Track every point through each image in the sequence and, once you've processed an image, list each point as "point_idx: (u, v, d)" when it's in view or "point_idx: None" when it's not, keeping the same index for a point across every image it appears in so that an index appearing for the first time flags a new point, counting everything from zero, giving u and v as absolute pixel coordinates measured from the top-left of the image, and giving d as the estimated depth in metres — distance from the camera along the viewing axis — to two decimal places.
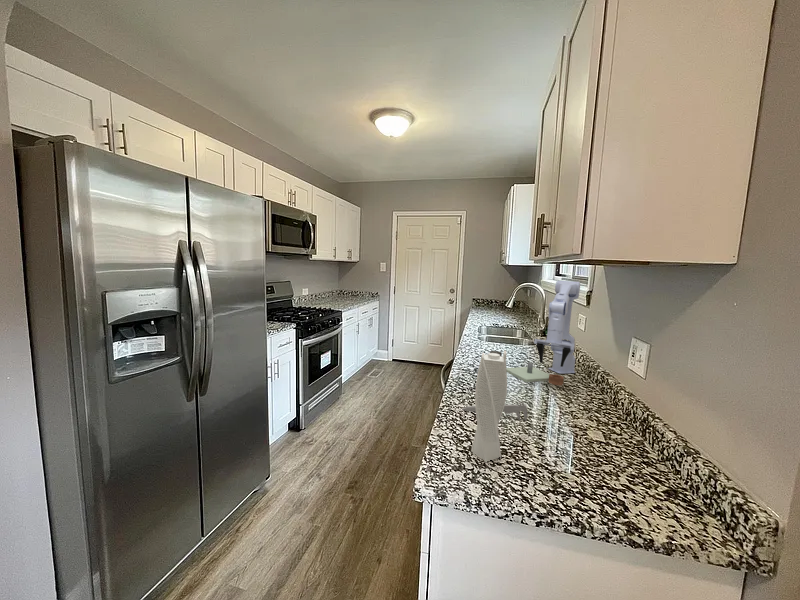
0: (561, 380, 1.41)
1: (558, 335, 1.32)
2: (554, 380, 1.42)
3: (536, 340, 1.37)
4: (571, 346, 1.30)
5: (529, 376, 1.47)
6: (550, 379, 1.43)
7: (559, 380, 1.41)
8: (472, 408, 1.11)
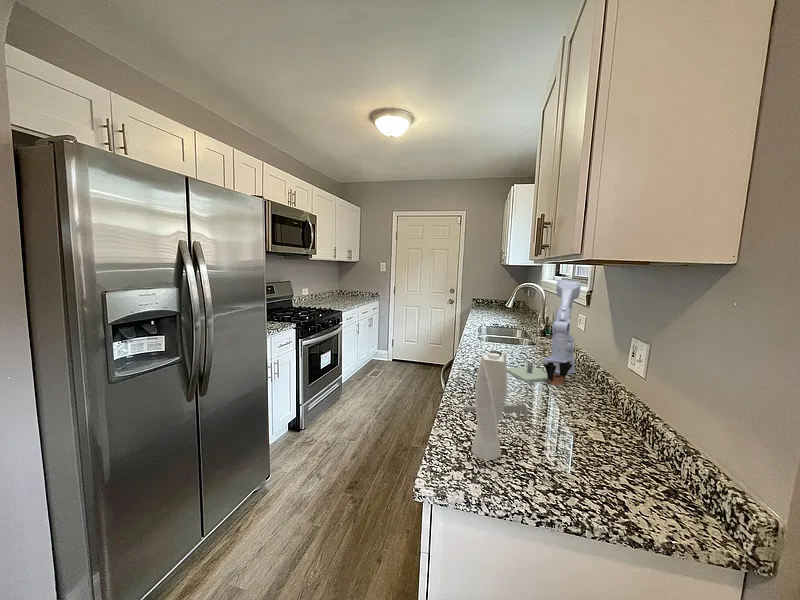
0: (561, 380, 1.41)
1: (566, 353, 1.41)
2: (554, 380, 1.42)
3: (547, 361, 1.40)
4: (572, 360, 1.44)
5: (529, 376, 1.47)
6: None
7: (559, 380, 1.41)
8: (472, 408, 1.11)
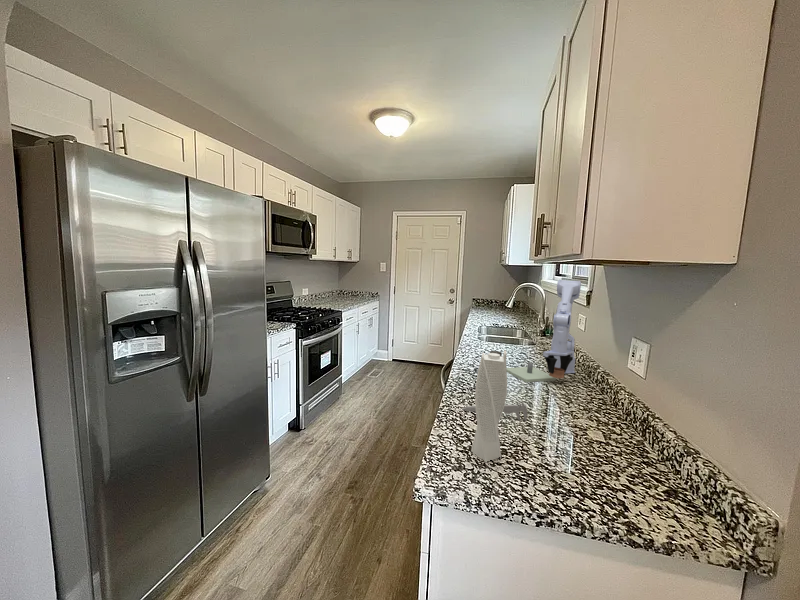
0: (562, 373, 1.41)
1: (566, 346, 1.40)
2: (555, 373, 1.41)
3: (548, 353, 1.40)
4: (572, 353, 1.44)
5: (529, 376, 1.47)
6: None
7: (560, 373, 1.41)
8: (472, 408, 1.11)
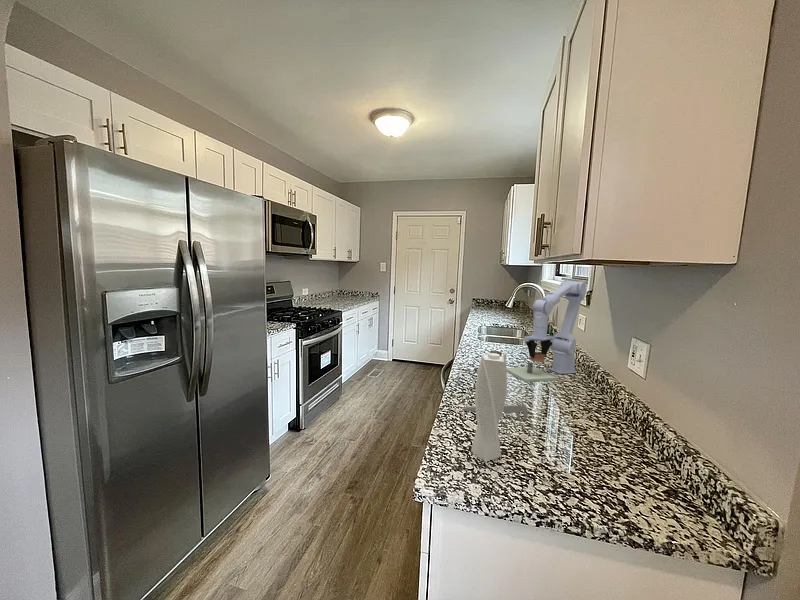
0: (542, 357, 1.47)
1: (546, 331, 1.47)
2: (535, 357, 1.47)
3: (528, 338, 1.46)
4: (552, 338, 1.50)
5: (529, 376, 1.47)
6: None
7: (540, 357, 1.47)
8: (471, 408, 1.11)
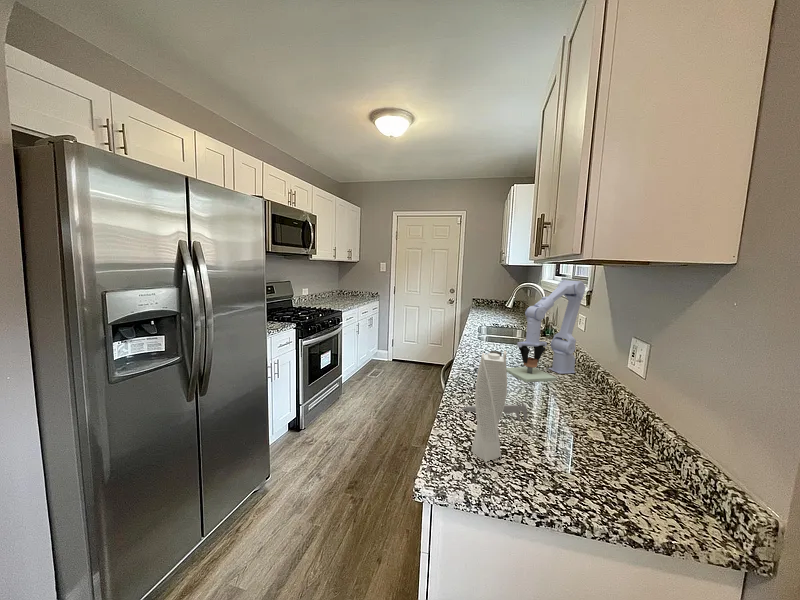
0: (535, 362, 1.50)
1: (539, 337, 1.49)
2: (528, 362, 1.50)
3: (521, 344, 1.49)
4: (545, 344, 1.52)
5: (529, 376, 1.47)
6: None
7: (533, 362, 1.49)
8: (471, 408, 1.11)
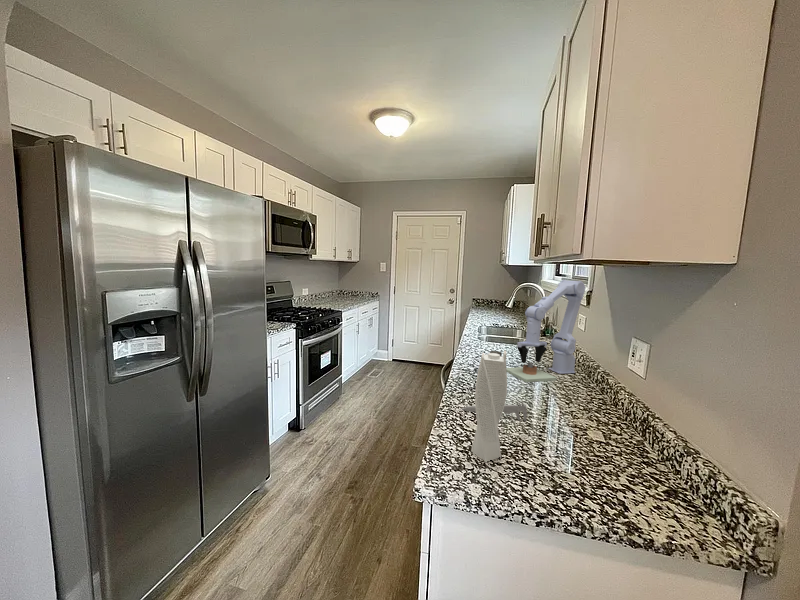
0: (534, 370, 1.50)
1: (539, 337, 1.49)
2: (527, 370, 1.50)
3: (521, 344, 1.49)
4: (545, 344, 1.52)
5: (529, 376, 1.47)
6: (524, 369, 1.52)
7: (532, 370, 1.50)
8: (471, 408, 1.11)
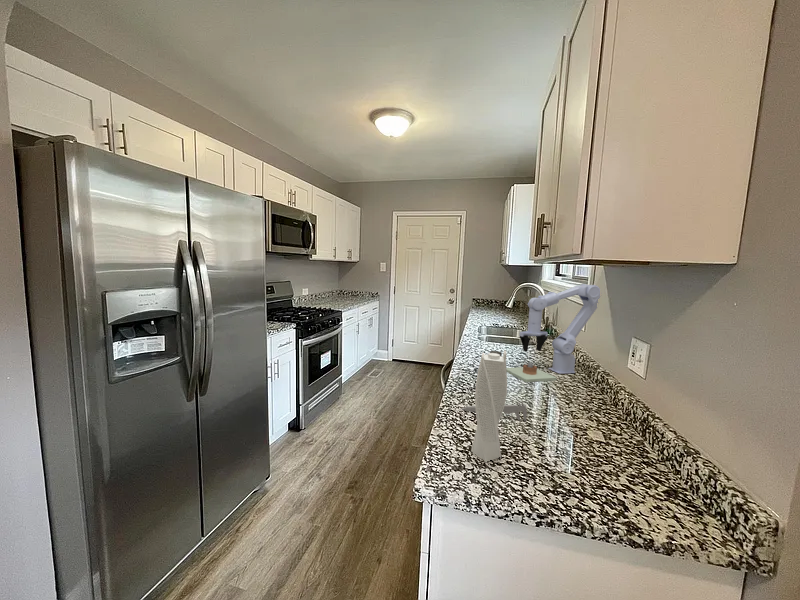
0: (534, 370, 1.50)
1: (540, 327, 1.57)
2: (527, 370, 1.50)
3: (523, 333, 1.57)
4: (546, 333, 1.60)
5: (529, 376, 1.47)
6: (524, 369, 1.52)
7: (532, 370, 1.50)
8: (471, 408, 1.11)
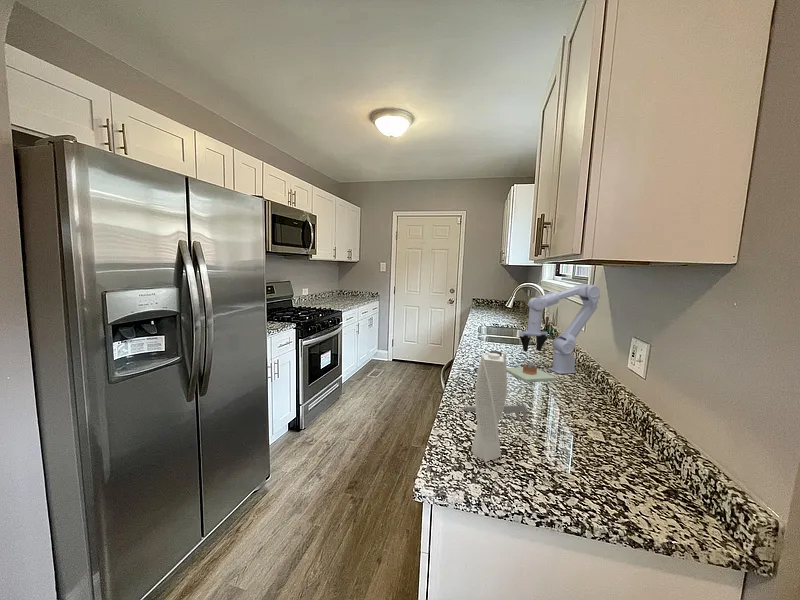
0: (534, 370, 1.50)
1: (540, 327, 1.57)
2: (527, 370, 1.50)
3: (523, 333, 1.57)
4: (546, 333, 1.60)
5: (529, 376, 1.47)
6: (524, 369, 1.52)
7: (532, 370, 1.50)
8: (471, 408, 1.11)
